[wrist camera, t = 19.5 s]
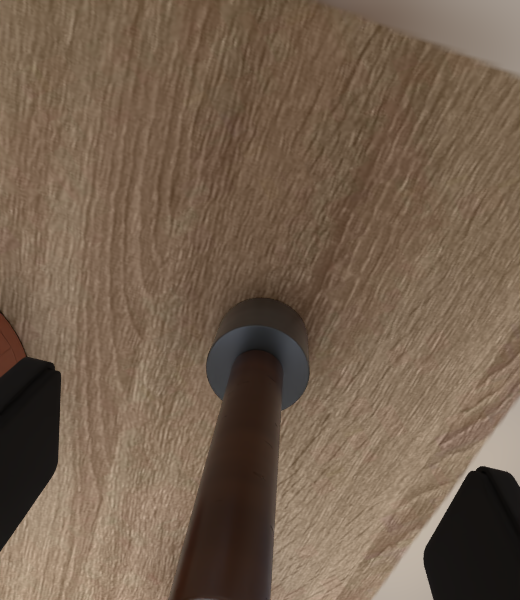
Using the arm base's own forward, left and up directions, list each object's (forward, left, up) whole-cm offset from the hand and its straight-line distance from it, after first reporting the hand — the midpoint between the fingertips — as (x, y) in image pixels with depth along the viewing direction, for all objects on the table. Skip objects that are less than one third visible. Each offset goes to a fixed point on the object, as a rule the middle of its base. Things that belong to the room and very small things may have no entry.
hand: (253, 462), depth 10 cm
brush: (+3, 0, -11) cm, 11 cm away
